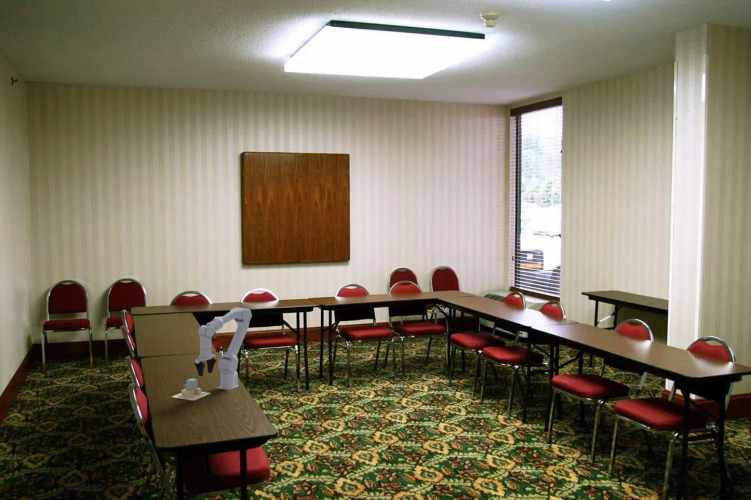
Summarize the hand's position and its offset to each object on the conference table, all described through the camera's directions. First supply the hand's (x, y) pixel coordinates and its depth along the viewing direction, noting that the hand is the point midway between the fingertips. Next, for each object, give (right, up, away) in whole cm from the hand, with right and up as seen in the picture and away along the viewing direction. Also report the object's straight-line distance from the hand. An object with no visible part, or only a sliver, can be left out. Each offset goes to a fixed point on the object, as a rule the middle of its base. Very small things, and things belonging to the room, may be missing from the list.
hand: (205, 374), depth 332 cm
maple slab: (-7, -10, -2) cm, 12 cm away
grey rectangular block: (-6, -7, -3) cm, 10 cm away
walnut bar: (-10, -9, +8) cm, 16 cm away
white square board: (-7, -10, -2) cm, 13 cm away
